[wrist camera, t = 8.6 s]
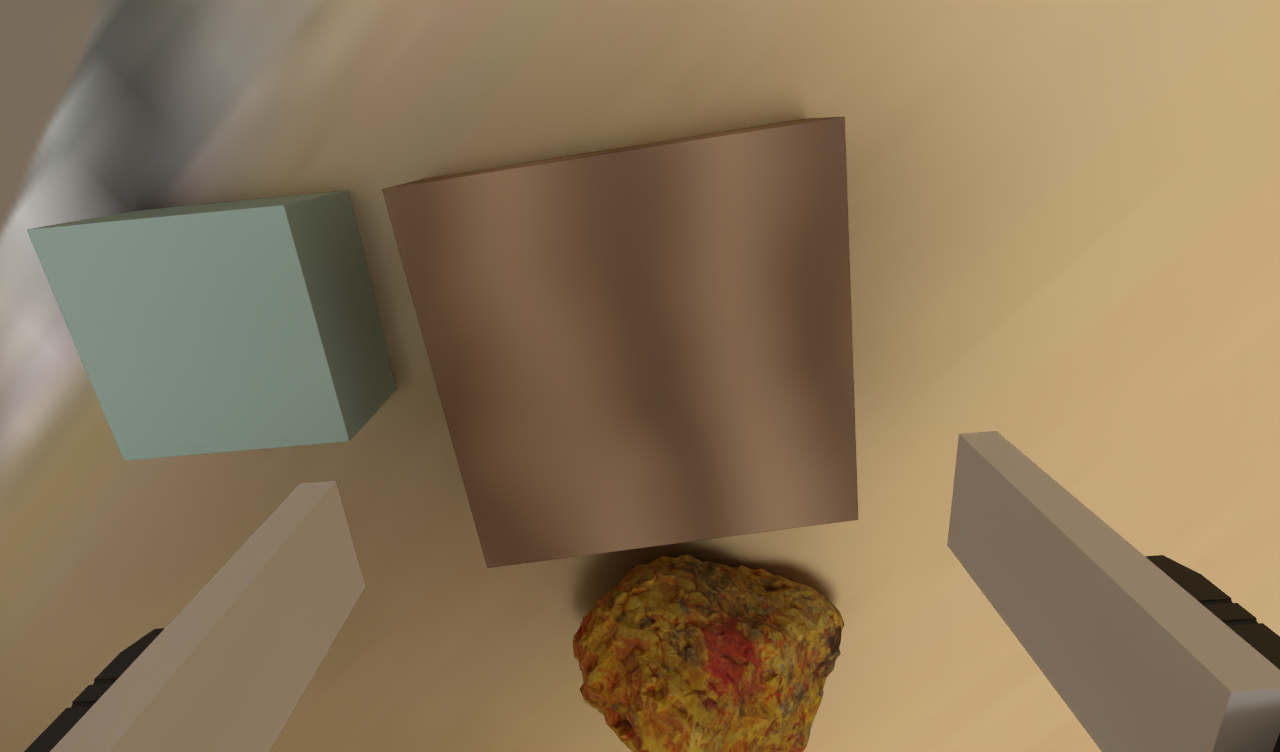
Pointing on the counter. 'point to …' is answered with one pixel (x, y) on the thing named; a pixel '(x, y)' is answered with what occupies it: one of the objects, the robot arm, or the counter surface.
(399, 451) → the counter surface
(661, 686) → the rock
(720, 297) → the walnut block
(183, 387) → the teal block
